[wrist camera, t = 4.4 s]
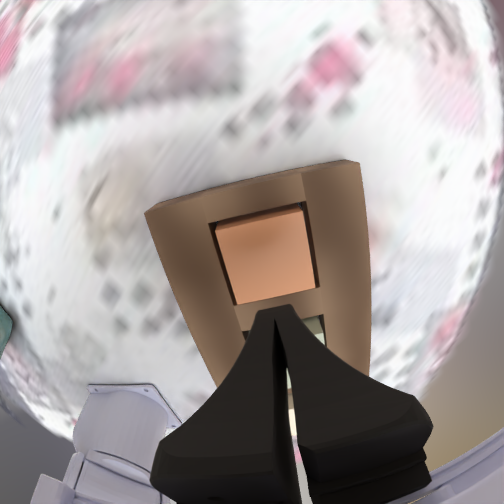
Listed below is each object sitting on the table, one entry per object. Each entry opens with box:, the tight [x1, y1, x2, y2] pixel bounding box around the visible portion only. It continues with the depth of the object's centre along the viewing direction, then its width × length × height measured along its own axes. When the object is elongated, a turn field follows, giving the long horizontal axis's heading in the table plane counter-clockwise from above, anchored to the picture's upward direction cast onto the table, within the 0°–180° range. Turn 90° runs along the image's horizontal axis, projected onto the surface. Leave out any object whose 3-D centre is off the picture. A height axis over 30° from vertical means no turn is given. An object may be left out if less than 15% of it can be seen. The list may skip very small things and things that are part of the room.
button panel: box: [144, 160, 371, 394], centre depth 21 cm, size 13×25×2 cm, turn 13°
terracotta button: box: [215, 203, 315, 305], centre depth 18 cm, size 5×5×2 cm
